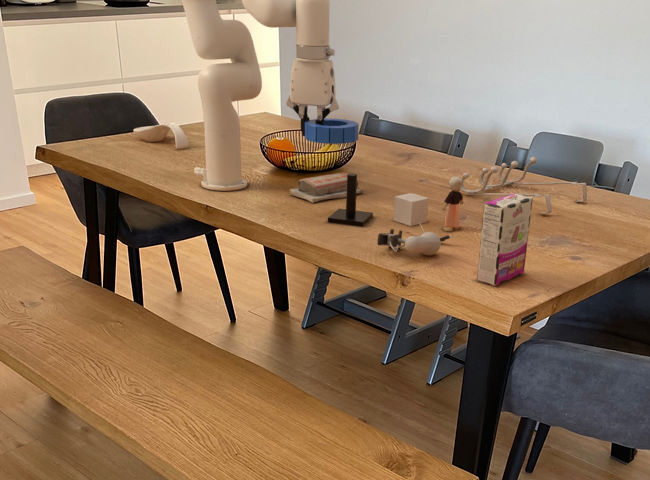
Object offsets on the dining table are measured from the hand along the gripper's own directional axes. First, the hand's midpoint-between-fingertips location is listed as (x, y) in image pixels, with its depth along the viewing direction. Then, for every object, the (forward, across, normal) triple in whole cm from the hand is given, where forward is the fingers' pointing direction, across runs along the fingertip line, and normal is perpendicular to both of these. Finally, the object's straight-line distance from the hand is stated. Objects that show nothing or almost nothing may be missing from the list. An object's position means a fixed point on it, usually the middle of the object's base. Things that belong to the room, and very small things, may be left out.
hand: (312, 135), depth 197 cm
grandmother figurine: (+20, -35, -4) cm, 41 cm away
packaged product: (+20, +3, -20) cm, 28 cm away
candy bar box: (+20, -51, +26) cm, 61 cm away
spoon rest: (+19, +74, -58) cm, 97 cm away
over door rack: (+20, -48, -40) cm, 65 cm away
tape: (0, -5, 0) cm, 5 cm away
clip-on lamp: (+20, -31, +16) cm, 41 cm away
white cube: (+20, -24, -6) cm, 32 cm away
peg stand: (+20, -10, 0) cm, 22 cm away
